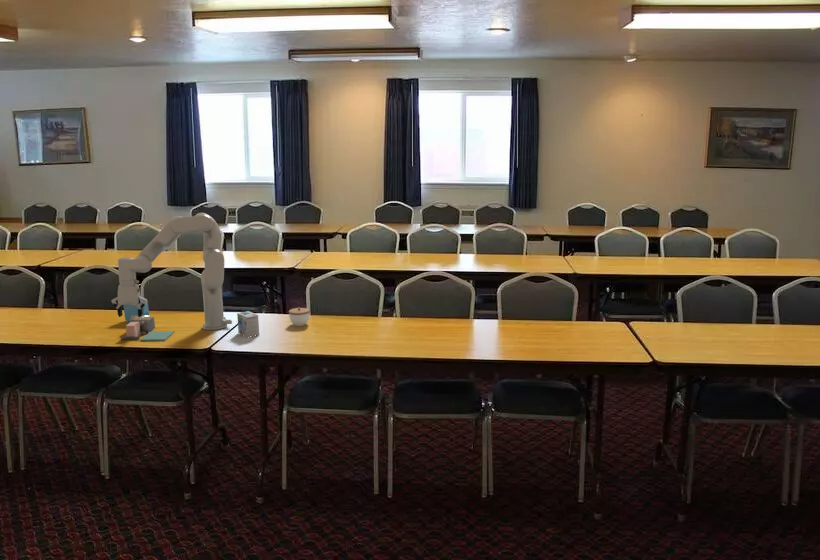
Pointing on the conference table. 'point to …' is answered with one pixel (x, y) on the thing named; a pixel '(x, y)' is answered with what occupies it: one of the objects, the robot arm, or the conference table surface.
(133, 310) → the data package
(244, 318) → the light bulb box
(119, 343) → the conference table surface
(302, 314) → the lidded jar
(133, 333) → the pink rectangular prism
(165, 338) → the pad
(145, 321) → the dispenser
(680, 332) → the conference table surface
